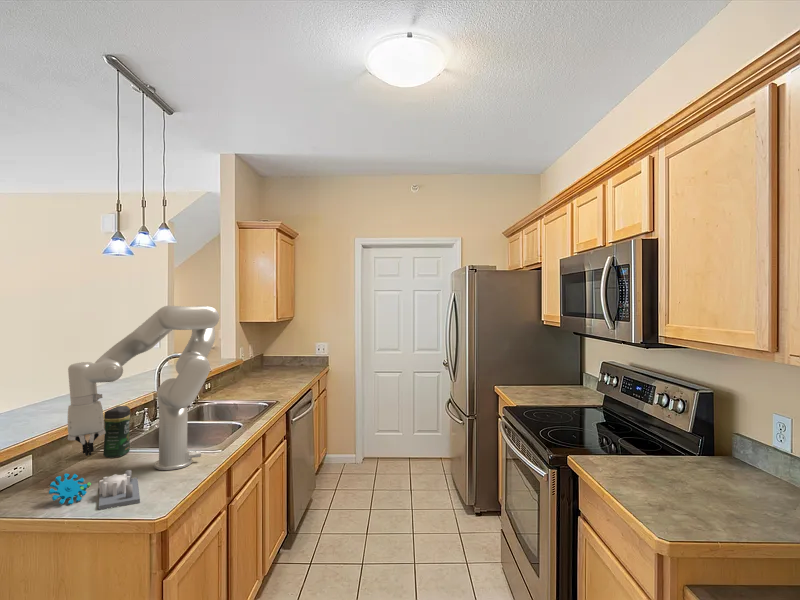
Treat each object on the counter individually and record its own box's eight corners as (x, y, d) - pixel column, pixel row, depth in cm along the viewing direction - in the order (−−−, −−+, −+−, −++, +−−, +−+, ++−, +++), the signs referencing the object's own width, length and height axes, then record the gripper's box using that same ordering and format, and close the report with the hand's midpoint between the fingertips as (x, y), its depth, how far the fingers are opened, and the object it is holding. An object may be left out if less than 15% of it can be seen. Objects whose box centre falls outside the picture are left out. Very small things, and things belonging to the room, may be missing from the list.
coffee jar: (122, 458, 188) (122, 409, 188) (100, 458, 188) (100, 410, 188) (133, 450, 198) (133, 404, 198) (112, 450, 197) (112, 404, 197)
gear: (52, 505, 142) (48, 474, 147) (45, 516, 144) (41, 485, 149) (94, 498, 150) (89, 469, 155) (87, 509, 152) (82, 480, 158)
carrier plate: (137, 481, 165) (137, 465, 165) (139, 502, 148) (139, 485, 148) (100, 487, 160) (100, 470, 160) (98, 510, 142) (98, 492, 142)
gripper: (110, 394, 170) (114, 446, 171) (57, 401, 163) (62, 456, 164) (110, 398, 164) (114, 452, 165) (55, 406, 156) (60, 463, 157)
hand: (88, 454), depth 164 cm, fingers closed
